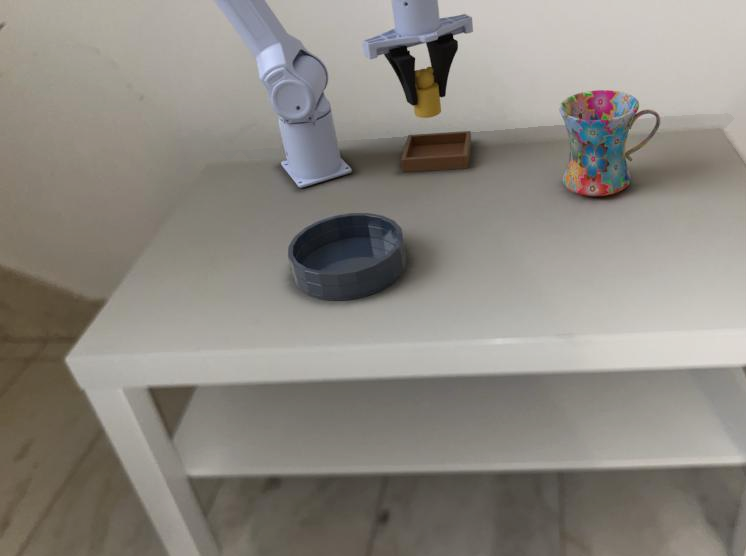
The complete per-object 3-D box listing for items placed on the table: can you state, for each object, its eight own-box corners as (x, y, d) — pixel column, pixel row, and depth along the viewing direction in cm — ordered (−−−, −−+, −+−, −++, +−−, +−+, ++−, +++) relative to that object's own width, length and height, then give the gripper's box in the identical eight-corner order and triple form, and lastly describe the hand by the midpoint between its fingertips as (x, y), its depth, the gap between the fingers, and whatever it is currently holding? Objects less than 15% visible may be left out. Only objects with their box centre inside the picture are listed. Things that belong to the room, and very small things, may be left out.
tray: (402, 172, 107) (400, 159, 106) (409, 146, 114) (408, 134, 113) (468, 168, 106) (467, 155, 105) (471, 142, 112) (470, 130, 111)
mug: (564, 206, 95) (564, 124, 88) (555, 172, 102) (554, 94, 95) (663, 196, 94) (671, 113, 87) (647, 163, 101) (653, 83, 94)
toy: (410, 112, 105) (404, 68, 101) (434, 105, 106) (429, 61, 102) (421, 120, 102) (416, 75, 98) (445, 113, 103) (441, 68, 99)
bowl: (281, 259, 93) (274, 234, 91) (381, 226, 96) (376, 201, 94) (315, 314, 83) (308, 288, 81) (425, 275, 86) (421, 249, 84)
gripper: (371, 12, 90) (387, 122, 98) (480, -16, 93) (487, 93, 102) (350, 0, 95) (367, 106, 103) (455, -26, 99) (463, 78, 107)
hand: (426, 99), depth 103 cm, fingers closed on toy, 3 cm apart
